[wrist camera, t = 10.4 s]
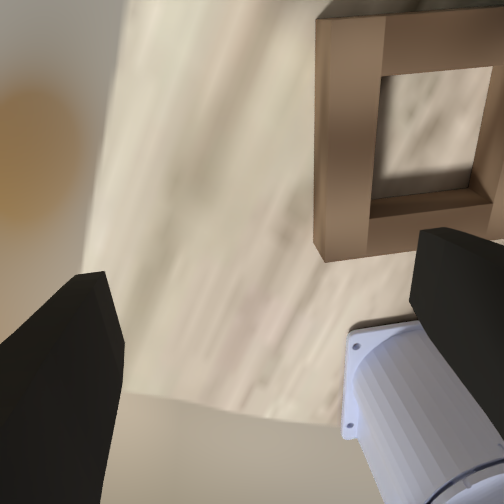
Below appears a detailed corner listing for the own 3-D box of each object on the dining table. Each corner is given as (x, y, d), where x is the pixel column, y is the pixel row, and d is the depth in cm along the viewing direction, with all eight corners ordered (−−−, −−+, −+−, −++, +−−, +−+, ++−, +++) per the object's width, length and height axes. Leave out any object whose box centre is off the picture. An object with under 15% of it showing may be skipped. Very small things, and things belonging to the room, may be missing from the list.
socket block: (496, 219, 23) (522, 236, 21) (313, 242, 22) (325, 262, 20) (550, 0, 18) (590, 0, 16) (315, 19, 17) (331, 20, 15)
